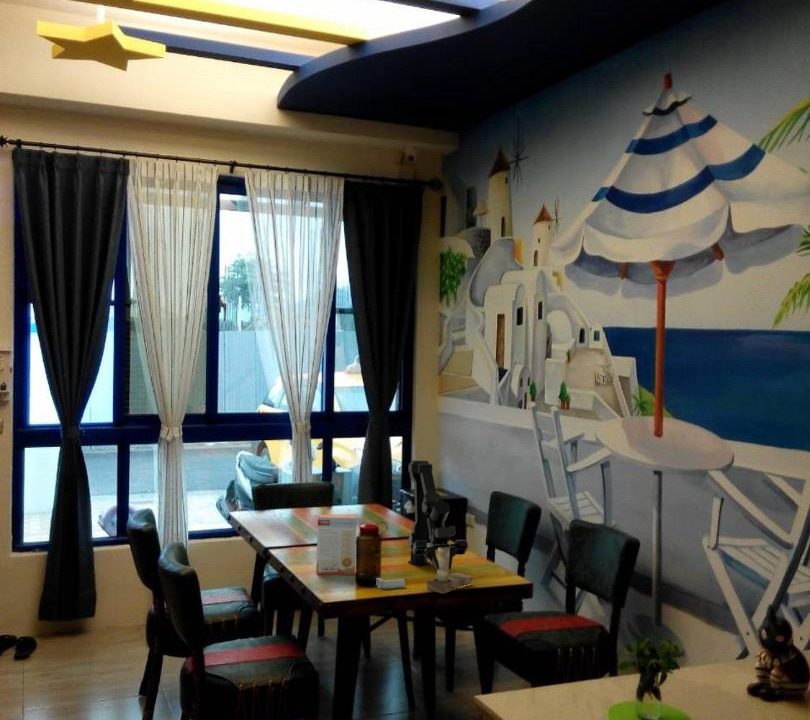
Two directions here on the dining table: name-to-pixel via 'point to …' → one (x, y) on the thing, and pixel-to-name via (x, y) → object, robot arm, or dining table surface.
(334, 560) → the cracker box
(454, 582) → the wooden socket block
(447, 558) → the dowel
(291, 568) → the dining table surface
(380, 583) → the v cradle
